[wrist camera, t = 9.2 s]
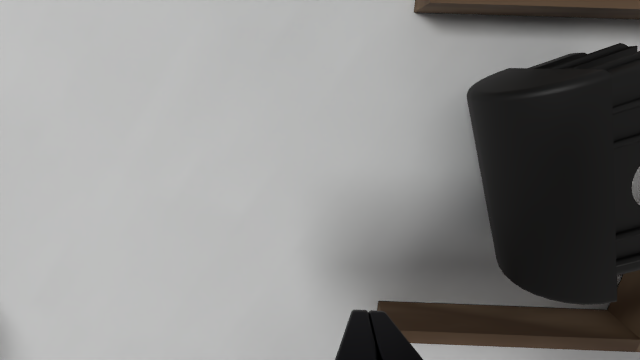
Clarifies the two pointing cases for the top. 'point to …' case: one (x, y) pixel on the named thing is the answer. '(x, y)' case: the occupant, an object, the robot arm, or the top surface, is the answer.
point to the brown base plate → (527, 322)
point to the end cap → (562, 171)
